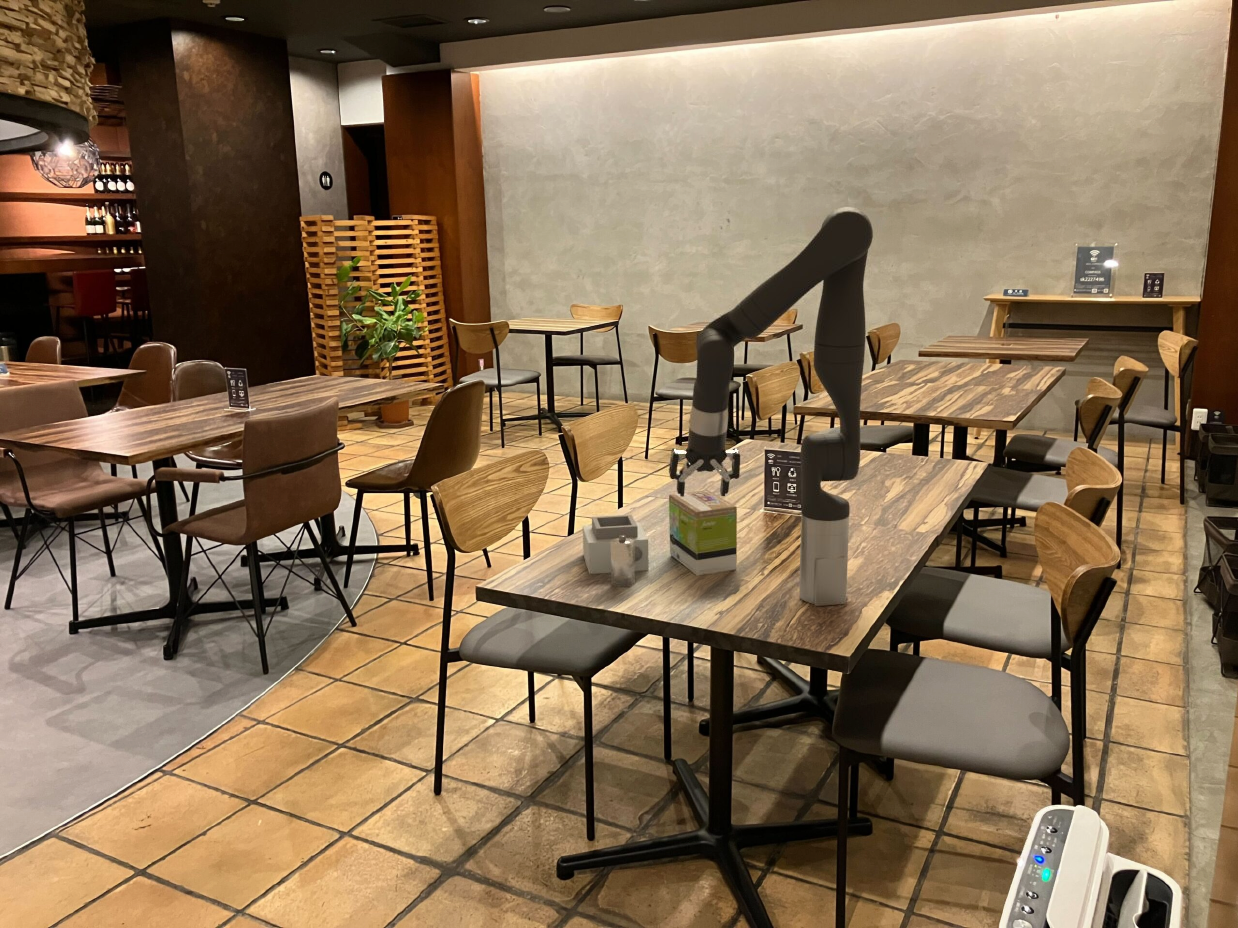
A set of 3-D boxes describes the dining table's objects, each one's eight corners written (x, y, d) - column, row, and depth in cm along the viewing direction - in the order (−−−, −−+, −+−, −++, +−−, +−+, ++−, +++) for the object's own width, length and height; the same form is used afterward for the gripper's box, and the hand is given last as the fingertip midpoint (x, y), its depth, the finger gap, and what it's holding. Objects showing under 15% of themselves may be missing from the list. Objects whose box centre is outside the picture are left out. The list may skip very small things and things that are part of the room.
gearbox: (649, 571, 211) (648, 529, 209) (589, 575, 210) (588, 532, 207) (639, 551, 225) (638, 511, 222) (583, 554, 223) (582, 514, 221)
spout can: (636, 585, 203) (635, 538, 200) (613, 587, 202) (611, 540, 200) (633, 577, 208) (632, 531, 205) (610, 579, 207) (608, 533, 205)
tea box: (668, 555, 221) (667, 493, 218) (708, 550, 225) (708, 488, 221) (696, 576, 207) (696, 510, 204) (738, 570, 211) (738, 504, 207)
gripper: (674, 434, 189) (670, 504, 198) (747, 434, 190) (739, 504, 199) (670, 416, 196) (666, 485, 204) (740, 416, 197) (733, 484, 205)
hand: (702, 494), depth 201 cm, fingers open, 8 cm apart
